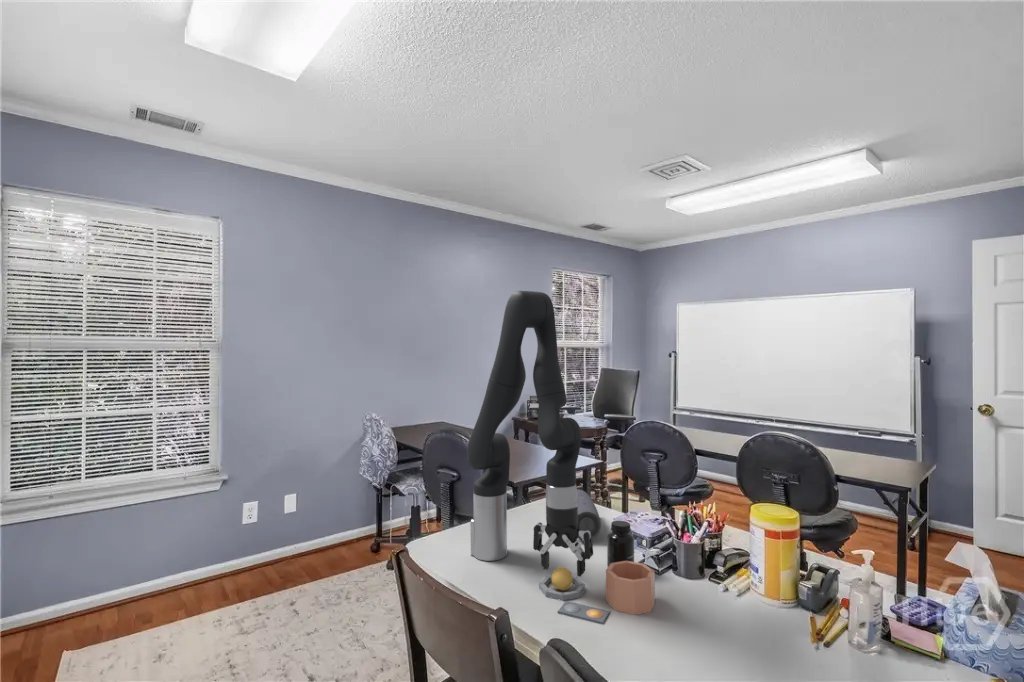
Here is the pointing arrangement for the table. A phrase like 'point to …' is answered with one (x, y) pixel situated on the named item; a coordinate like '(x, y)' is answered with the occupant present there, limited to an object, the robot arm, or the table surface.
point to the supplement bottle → (620, 543)
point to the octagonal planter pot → (630, 587)
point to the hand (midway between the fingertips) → (563, 571)
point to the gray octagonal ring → (558, 594)
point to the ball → (562, 578)
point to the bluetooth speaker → (587, 514)
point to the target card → (584, 612)
